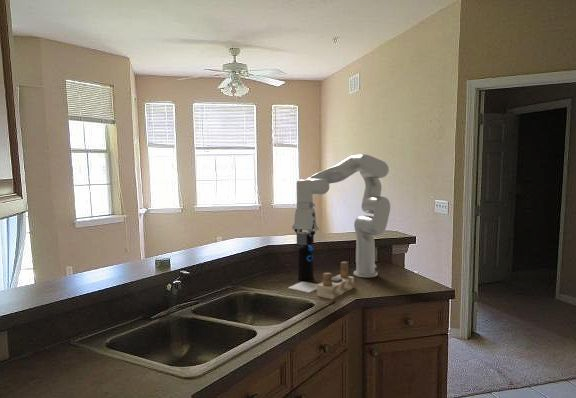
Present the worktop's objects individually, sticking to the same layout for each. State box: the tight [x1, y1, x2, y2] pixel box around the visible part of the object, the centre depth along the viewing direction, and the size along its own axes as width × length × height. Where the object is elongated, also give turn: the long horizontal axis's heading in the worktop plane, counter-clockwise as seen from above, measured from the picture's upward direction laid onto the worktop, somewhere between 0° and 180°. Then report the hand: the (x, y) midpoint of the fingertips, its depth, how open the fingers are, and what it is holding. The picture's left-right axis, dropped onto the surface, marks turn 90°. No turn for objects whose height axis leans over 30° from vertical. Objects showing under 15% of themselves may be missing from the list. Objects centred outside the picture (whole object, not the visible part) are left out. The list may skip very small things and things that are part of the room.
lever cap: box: [296, 231, 315, 246], centre depth 180 cm, size 7×5×6 cm
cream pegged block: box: [316, 261, 355, 300], centre depth 175 cm, size 20×8×12 cm, turn 143°
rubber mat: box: [287, 281, 319, 294], centre depth 182 cm, size 12×12×1 cm
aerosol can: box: [297, 245, 315, 282], centre depth 195 cm, size 8×8×20 cm
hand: (305, 243), depth 180 cm, fingers closed on lever cap, 5 cm apart
